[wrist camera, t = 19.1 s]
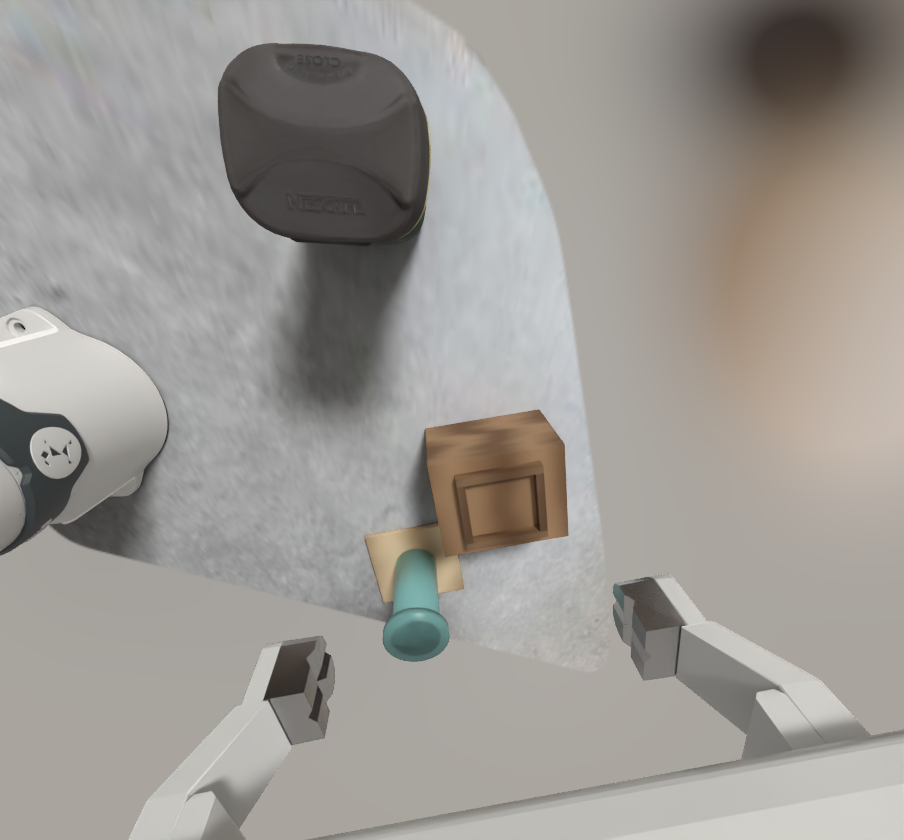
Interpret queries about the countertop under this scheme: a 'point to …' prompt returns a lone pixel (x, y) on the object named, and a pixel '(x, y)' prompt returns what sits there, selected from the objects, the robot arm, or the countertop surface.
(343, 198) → the coffee jar
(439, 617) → the stopper cap
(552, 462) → the walnut box
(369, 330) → the countertop surface
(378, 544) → the cork mat
